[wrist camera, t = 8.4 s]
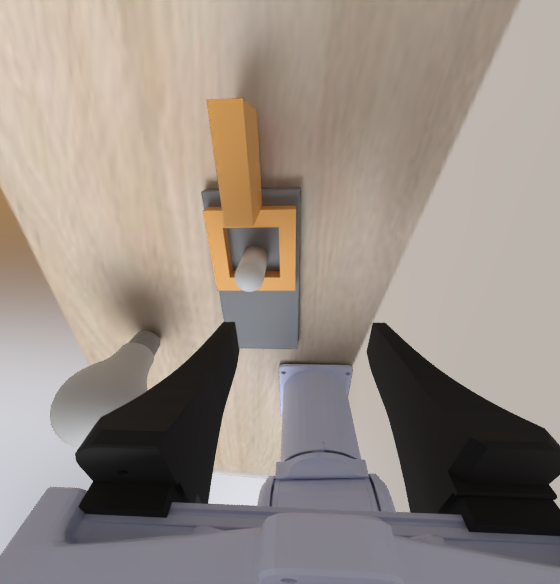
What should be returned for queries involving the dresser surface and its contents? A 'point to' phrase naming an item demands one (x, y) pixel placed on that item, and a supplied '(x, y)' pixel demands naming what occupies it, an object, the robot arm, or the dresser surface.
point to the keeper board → (262, 305)
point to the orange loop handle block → (244, 196)
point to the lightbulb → (102, 388)
